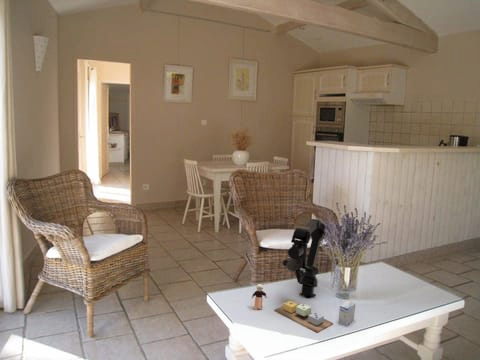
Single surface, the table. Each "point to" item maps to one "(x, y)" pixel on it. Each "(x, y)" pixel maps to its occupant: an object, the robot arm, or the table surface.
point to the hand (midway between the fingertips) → (299, 282)
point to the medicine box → (346, 313)
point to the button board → (303, 320)
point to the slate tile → (315, 318)
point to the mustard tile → (290, 306)
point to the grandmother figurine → (258, 297)
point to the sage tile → (303, 309)
